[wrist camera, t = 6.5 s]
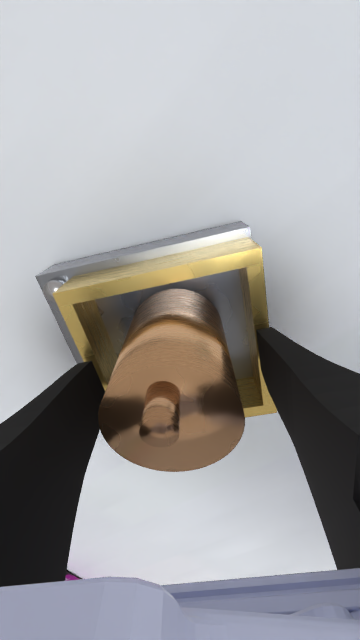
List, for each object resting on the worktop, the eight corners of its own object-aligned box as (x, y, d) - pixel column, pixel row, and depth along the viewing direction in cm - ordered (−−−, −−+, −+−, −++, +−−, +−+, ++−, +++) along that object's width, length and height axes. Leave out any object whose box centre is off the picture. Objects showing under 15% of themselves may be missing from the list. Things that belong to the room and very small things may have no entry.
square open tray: (258, 367, 17) (279, 418, 14) (109, 392, 18) (90, 446, 15) (241, 221, 13) (263, 236, 10) (53, 264, 15) (8, 293, 11)
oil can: (226, 362, 15) (258, 509, 8) (143, 372, 15) (110, 519, 9) (217, 281, 13) (250, 392, 6) (121, 296, 13) (56, 414, 7)
